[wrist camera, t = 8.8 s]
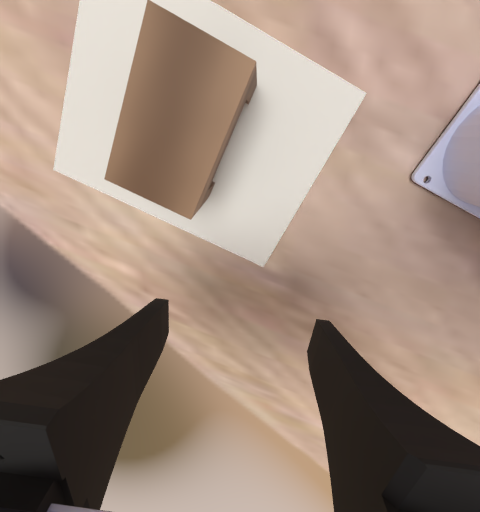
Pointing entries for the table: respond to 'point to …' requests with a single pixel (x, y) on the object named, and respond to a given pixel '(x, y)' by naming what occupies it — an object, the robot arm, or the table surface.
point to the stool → (178, 112)
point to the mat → (242, 139)
